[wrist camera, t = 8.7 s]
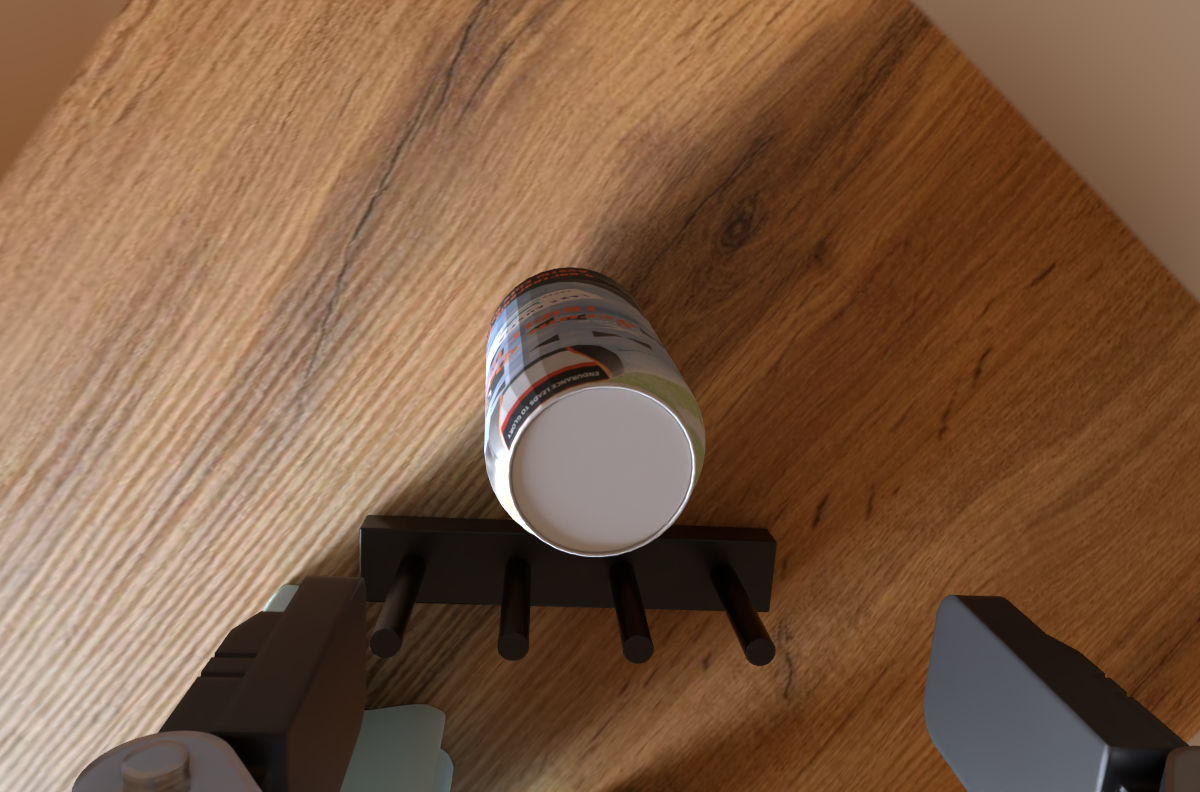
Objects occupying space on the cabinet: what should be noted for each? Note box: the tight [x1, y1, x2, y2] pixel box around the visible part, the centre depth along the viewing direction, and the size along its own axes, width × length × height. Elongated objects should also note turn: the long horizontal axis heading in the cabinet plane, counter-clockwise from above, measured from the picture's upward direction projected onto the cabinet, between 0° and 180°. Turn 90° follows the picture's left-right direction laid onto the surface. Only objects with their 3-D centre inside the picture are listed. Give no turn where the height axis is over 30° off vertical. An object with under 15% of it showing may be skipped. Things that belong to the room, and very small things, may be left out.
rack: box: [359, 515, 777, 666], centre depth 31 cm, size 3×16×8 cm, turn 87°
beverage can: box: [484, 267, 705, 557], centre depth 28 cm, size 6×7×12 cm
